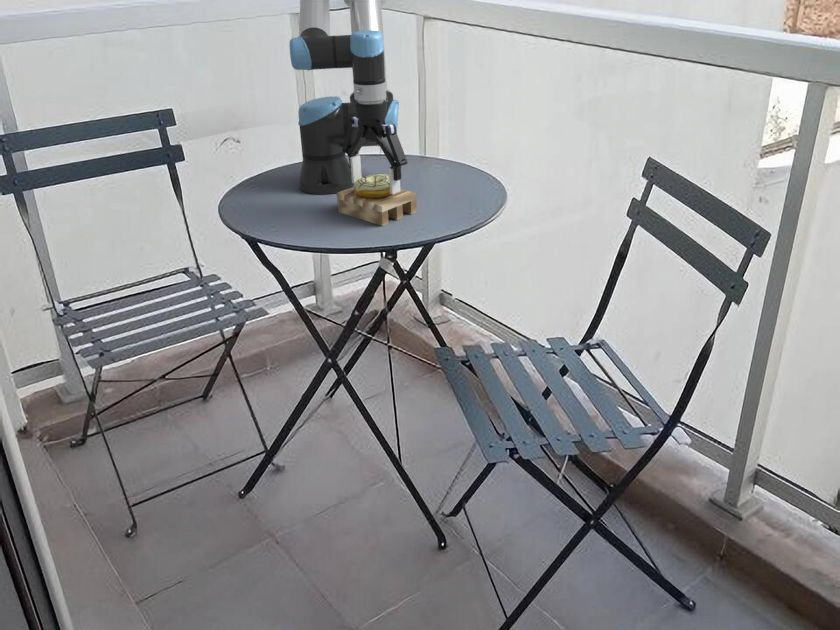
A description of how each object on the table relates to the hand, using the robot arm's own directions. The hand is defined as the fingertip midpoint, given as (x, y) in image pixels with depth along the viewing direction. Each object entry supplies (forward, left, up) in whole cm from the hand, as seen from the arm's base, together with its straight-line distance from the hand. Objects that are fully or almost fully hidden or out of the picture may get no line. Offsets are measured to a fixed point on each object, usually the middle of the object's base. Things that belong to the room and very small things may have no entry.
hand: (375, 187), depth 202 cm
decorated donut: (0, 0, -2) cm, 2 cm away
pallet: (0, 0, -7) cm, 7 cm away
